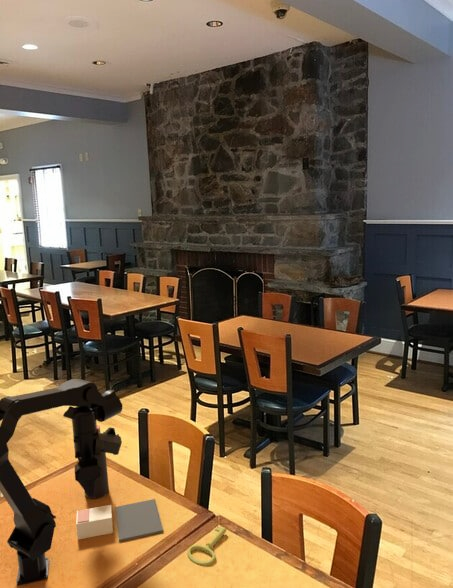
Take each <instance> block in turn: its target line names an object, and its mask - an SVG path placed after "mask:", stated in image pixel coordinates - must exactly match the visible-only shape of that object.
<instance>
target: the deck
mask: <svg viewBox="0 0 453 588" xmlns="http://www.w3.org/2000/svg"><path fill="white" fill-rule="evenodd" d="M112 511H113V510H112V504H108V505H102V506H97V507H96V506H95V507H91V508H86V509H81V510H76V519H75V520H76V522H75V525H76V526H75V527H76V535H77V536H76V537H77V540H82V539H89V538H93V537H98V536H104V535H109V534H113V532H114V528H113V527H114V526H113V514H112V513H113V512H112Z"/></svg>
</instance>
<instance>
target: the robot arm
mask: <svg viewBox="0 0 453 588" xmlns="http://www.w3.org/2000/svg"><path fill="white" fill-rule="evenodd" d="M67 406H68V408H67V410H66V411H65V412H64V413H63V415H62V416H63V417H64V418H67V419H70V420H71V424H72V425H71V426H72V433H73V434H72V436H73V437H72V438H73V439H72V441H73V448H74V457H75V459H77V460H78V462H76V464H75V465H74V480H75V481H76V482H77V483H78V484H79V485H80V486H81V488H82V489H83V490H84V493H85V492H86V494H87V495H88V497H93V495H94V489H95V483H96V479H97V478H99V477H101V476H102V475H103V473H102V463H101V461H100V460H99V459H95V456H97V455H101V452H105V453H107V454H112V455H113V456H116V455H117V456H118V455H119V453H120V450H121V448H122V447H121V446H122V444H123V442H122V437H121V436H120V434H117V433H116V430H115V428H114V427H110V426H109V427H108V428H107V429H106V430H105V431H103V432H100V433H99V432H98V428H97V425H98V424H97V422H99V423H102V422H105V421H107V420H109V419H112V418H114V417H115V416H117V415H119V414H121V413H122V410H123V403H122V401H121V399H120V398H119V396H118V395H117V392H116V390H114V389H108V390H105V392H103V393H101V392H100V391H99V388H98V386H97V384H96V383H95V382H92V381H88V380H85V379H81V378H71V379H69V380H67V381H64V382H63V383H61V384H60V385H59V386H56V387H54V388H48V389H43V390H39V391H32V392H29V393H23V394H17V395H14V396H13V395H12V396H9V395H8V396H4V397H2V398H1V399H0V422H1V423H0V493H1V495H2V496H3V498H4V500H6V502H7V504H8V505H9V507H10V508H11V510H12V512H13V524H14V525H15V526H14V528H13V530H12V532H11V533H10V536H9V537H8V539H7V541H6V542H7V544H8V546H9V547H10V548H12V549H13V550H16V556H17V564H18V570H17V571H18V572H17V576H16V585H17V586H20V585H24V584H28V583H33V582H39V581H41V580H46V579H48V577H49V566H50V557H46V553H47V552H49V551H50V550H51V549H52V544H53V538H54V533H55V528H56V527H57V525H56V524H57V523H56V521H55V519H56V518H57V516H56V515H54V514H53V512H52V510H51V506H49V505H48V504H46V503H45V502H43V501H41V500H38V499H37V498H35V497H32V496H31V494H30V492H29V491H28V488H27V487H26V486H25V484H24V483H23V481H22V479H21V477H20V476H19V475H18V473H17V471H16V470H15V468H14V467H13V465H12V463H11V462H10V460H9V446H8V442H10V440H11V439H12V438H13V436H14V434H15V431H16V428H17V424H18V422H19V420H20V419H21V418H22V417H23V416H26V415H30V414H35V413H39V412H44V411H47V410H51V409H56V408H61V407H67ZM100 451H101V452H100ZM88 497H87V498H88Z"/></svg>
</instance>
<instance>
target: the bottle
mask: <svg viewBox="0 0 453 588" xmlns="http://www.w3.org/2000/svg"><path fill="white" fill-rule="evenodd" d="M97 428H98V432H99V433H101V426H100V425H98V424H97ZM100 452H101V451H100ZM95 459H99V460H100V461H101V463H102V473H103V475H102V476H101V477H99V478H97V479H96V483H95V489H94V495H93V497H88V495H87V494H86V492H85V491H84V494H85V497H87V498H89V499H99V498H102V497H104V496H105V495H107V494H108V493H109V489H110V488H109V475H108V466H107V455H106V453H105V452H101V455H97V456H95Z"/></svg>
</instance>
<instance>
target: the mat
mask: <svg viewBox="0 0 453 588" xmlns="http://www.w3.org/2000/svg"><path fill="white" fill-rule="evenodd" d="M114 510H115V511H114V512H115V519H116V527H117V534H118V542H119V543H120V542H125V541H128V540H133V539H138V538H139V539H140V538H142V537H143V538H144V537H147V536H151V535H152V536H153V535H156V534H161V533H164V528H163V524H162V521H161V516H160V513H159V509H158V505H157V501H156V499H155V498H152V499H148V500H143V501H139V502H133V503H128V504H122V505H118V506H114Z"/></svg>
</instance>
